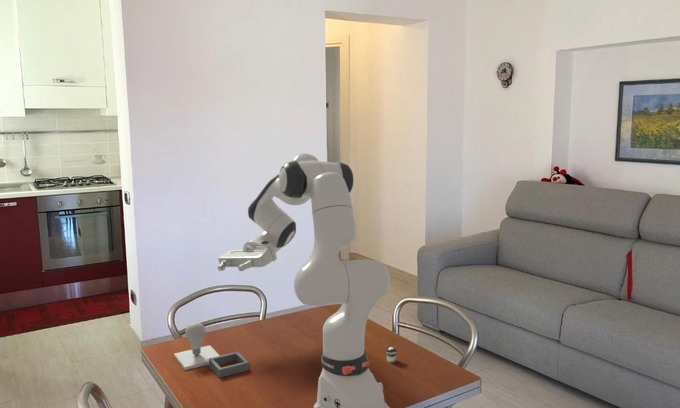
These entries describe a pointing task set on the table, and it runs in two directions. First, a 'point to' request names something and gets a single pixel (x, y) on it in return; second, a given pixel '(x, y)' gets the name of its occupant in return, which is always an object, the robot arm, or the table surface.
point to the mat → (195, 357)
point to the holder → (229, 370)
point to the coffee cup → (391, 353)
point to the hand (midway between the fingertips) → (229, 268)
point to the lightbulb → (195, 336)
